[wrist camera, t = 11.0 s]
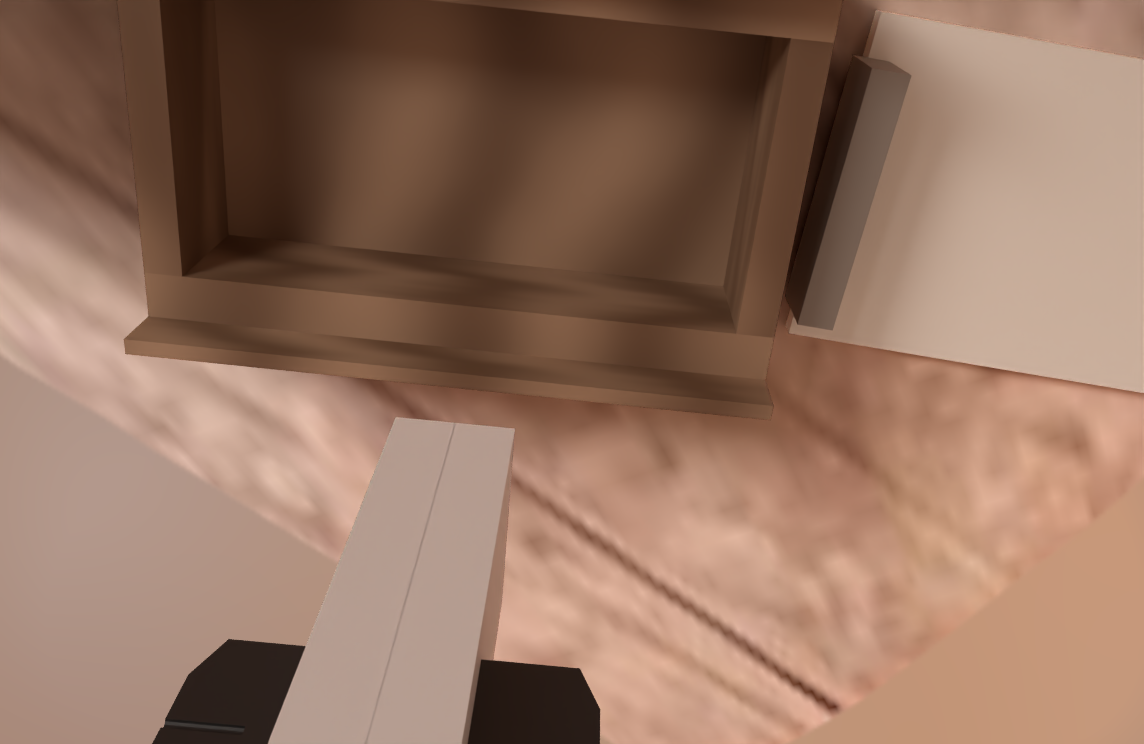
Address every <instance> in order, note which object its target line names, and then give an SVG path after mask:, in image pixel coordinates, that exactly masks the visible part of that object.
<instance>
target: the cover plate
mask: <svg viewBox="0 0 1144 744" xmlns="http://www.w3.org/2000/svg"><path fill="white" fill-rule="evenodd" d="M785 297H786V299H787V301H788V304H789V306H790V312H789V315H788V319H787V322H786V328H787V331H788V333H789V334H795V335H801V336H807V337H813V338H819V339H825V340H831V341H837V342H843V343H849V344H855V345H860V346H866V347H872V348H878V349H884V350H890V351H896V352H902V353H908V354H914V355H920V356H926V357H932V358H938V359H944V360H950V361H956V362H962V363H968V364H973V365H979V366H985V367H991V368H997V369H1003V370H1009V371H1015V372H1021V373H1027V374H1033V375H1039V376H1045V377H1051V378H1057V379H1063V380H1069V381H1075V382H1081V383H1086V384H1092V385H1098V386H1104V387H1110V388H1116V389H1122V390H1128V391H1134V392H1140V393H1144V59H1143V58H1138V57H1132V56H1127V55H1121V54H1116V53H1110V52H1105V51H1099V50H1094V49H1089V48H1083V47H1078V46H1072V45H1067V44H1061V43H1056V42H1050V41H1045V40H1039V39H1034V38H1028V37H1023V36H1018V35H1012V34H1007V33H1001V32H996V31H990V30H985V29H979V28H974V27H968V26H963V25H957V24H952V23H947V22H941V21H936V20H930V19H925V18H919V17H914V16H908V15H903V14H897V13H892V12H886V11H881V10H876V11H875V15H874V18H873V22H872V25H871V29H870V32H869V36H868V39H867V43H866V46H865V50H864V53H863V57H862V56H856V55H853V57H852V60H851V64H850V67H849V71H848V74H847V78H846V81H845V85H844V89H843V92H842V96H841V99H840V103H839V106H838V110H837V113H836V117H835V121H834V124H833V128H832V131H831V135H830V138H829V142H828V145H827V149H826V153H825V156H824V160H823V163H822V167H821V170H820V174H819V177H818V181H817V184H816V188H815V192H814V195H813V199H812V202H811V206H810V209H809V213H808V216H807V220H806V224H805V227H804V231H803V234H802V238H801V241H800V245H799V248H798V252H797V255H796V259H795V263H794V266H793V270H792V273H791V277H790V280H789V284H788V287H787V291H786V295H785Z"/></svg>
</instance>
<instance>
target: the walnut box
mask: <svg viewBox="0 0 1144 744" xmlns="http://www.w3.org/2000/svg"><path fill="white" fill-rule="evenodd" d="M842 2H843V0H117V7H118V17H119V27H120V37H121V47H122V57H123V67H124V76H125V86H126V96H127V106H128V116H129V126H130V136H131V146H132V156H133V166H134V176H135V186H136V196H137V206H138V216H139V226H140V236H141V246H142V256H143V266H144V275H145V285H146V295H147V305H148V315H149V316H148V317H147V318H146V319H145V320H144V321H143V322H142V323H141V324H140V325H139V326H138V327H137V328H135V329H134V330H133V331H132V332H131V333H130V334H129V335H128V336H127V337H126V338H125V339H124V345H125V354H131V355H140V356H150V357H160V358H170V359H179V360H189V361H199V362H208V363H218V364H228V365H238V366H247V367H257V368H267V369H277V370H286V371H296V372H306V373H315V374H325V375H335V376H345V377H354V378H364V379H374V380H384V381H393V382H403V383H413V384H422V385H432V386H442V387H452V388H461V389H471V390H481V391H491V392H500V393H510V394H520V395H530V396H539V397H549V398H559V399H568V400H578V401H588V402H598V403H607V404H617V405H627V406H637V407H646V408H656V409H666V410H675V411H685V412H695V413H705V414H714V415H724V416H734V417H744V418H753V419H763V420H771V416H772V411H773V403H772V400H771V396H770V393H769V390H768V387H767V383H766V375H767V370H768V365H769V360H770V355H771V351H772V346H773V341H774V336H775V331H776V326H777V321H778V316H779V311H780V306H781V301H782V297H783V292H784V287H785V282H786V277H787V272H788V267H789V262H790V257H791V252H792V248H793V243H794V238H795V233H796V228H797V223H798V218H799V213H800V208H801V203H802V198H803V194H804V189H805V184H806V179H807V174H808V169H809V164H810V159H811V154H812V149H813V145H814V140H815V135H816V130H817V125H818V120H819V115H820V110H821V105H822V100H823V95H824V91H825V86H826V81H827V76H828V71H829V66H830V61H831V56H832V51H833V46H834V42H835V37H836V32H837V27H838V22H839V17H840V12H841V7H842Z"/></svg>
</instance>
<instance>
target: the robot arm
mask: <svg viewBox="0 0 1144 744" xmlns="http://www.w3.org/2000/svg"><path fill="white" fill-rule="evenodd" d="M514 434H515V428H505V427H494V426H484V425H473V424H463V423H452V422H442V421H431V420H421V419H410V418H400V417H396V418H395V420H394V423H393V425H392V428H391V430H390V433H389V435H388V438H387V440H386V443H385V446H384V448H383V451H382V453H381V456H380V458H379V461H378V463H377V466H376V469H375V471H374V474H373V476H372V479H371V481H370V484H369V486H368V489H367V492H366V494H365V497H364V499H363V502H362V504H361V507H360V509H359V512H358V514H357V517H356V520H355V522H354V525H353V527H352V530H351V532H350V535H349V537H348V540H347V543H346V545H345V548H344V550H343V553H342V555H341V558H340V560H339V563H338V566H337V568H336V571H335V573H334V576H333V579H332V581H331V583H330V586H329V589H328V591H327V594H326V596H325V599H324V602H323V604H322V607H321V609H320V611H319V614H318V617H317V619H316V622H315V624H314V627H313V629H312V632H311V635H310V637H309V640H308V642H307V645H306V646H296V645H286V644H276V643H264V642H254V641H243V640H232V639H228V640H227V641H226V642H225V643H224V644H223V645H222V646H221V647H219V648H218V649H217V650H216V651H215V652H214V653H213V654H211V655H210V656H209V657H208V658H207V659H206V660H205V661H203V662H202V663H201V664H200V665H199V666H198V667H197V668H196V669H194V670H193V671H192V672H191V673H190V674H189V675H188V677H187V678H186V680H185V682H184V684H183V686H182V688H181V690H180V692H179V694H178V696H177V697H176V699H175V701H174V703H173V705H172V707H171V709H170V711H169V713H168V715H167V717H166V719H165V725H164V727H163V728H160V730H159V732H158V734H157V736H156V738H155V740H154V741H153V743H152V744H600V708H599V706H598V704H597V702H596V700H595V698H594V696H593V694H592V692H591V690H590V688H589V686H588V684H587V682H586V680H585V678H584V676H583V674H582V672H581V670H580V669H579V668H568V667H558V666H547V665H536V664H525V663H514V662H504V661H493V658H494V651H495V644H496V638H497V631H498V624H499V617H500V610H501V604H502V594H503V581H504V567H505V554H506V541H507V527H508V514H509V501H510V487H511V474H512V461H513V447H514Z"/></svg>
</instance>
